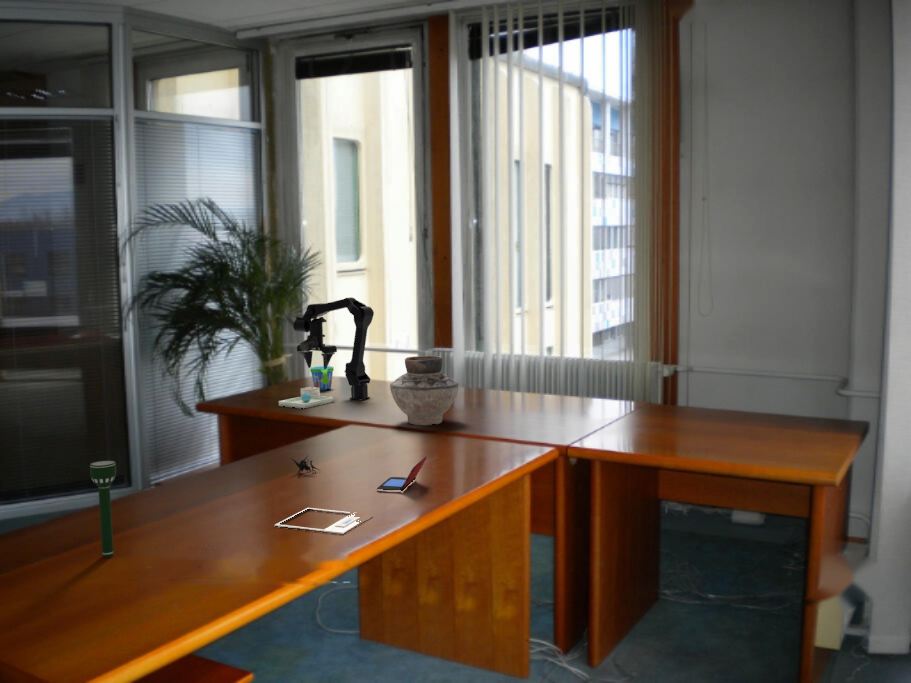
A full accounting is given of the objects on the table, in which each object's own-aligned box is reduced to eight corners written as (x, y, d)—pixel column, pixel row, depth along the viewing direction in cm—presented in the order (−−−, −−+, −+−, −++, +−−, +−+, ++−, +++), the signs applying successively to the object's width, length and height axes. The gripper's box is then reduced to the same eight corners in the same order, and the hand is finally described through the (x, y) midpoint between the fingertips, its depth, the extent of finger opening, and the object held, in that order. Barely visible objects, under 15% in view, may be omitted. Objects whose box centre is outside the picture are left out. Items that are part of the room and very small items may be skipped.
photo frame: (343, 531, 203) (274, 523, 210) (343, 536, 203) (274, 528, 210) (373, 513, 216) (307, 506, 223) (373, 518, 216) (307, 511, 223)
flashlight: (124, 551, 194) (119, 459, 192) (116, 560, 189) (110, 465, 187) (100, 552, 194) (94, 460, 191) (91, 560, 188) (85, 466, 186)
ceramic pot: (381, 427, 324) (380, 361, 321) (402, 415, 348) (400, 353, 345) (449, 430, 318) (448, 362, 316) (465, 417, 342) (465, 353, 340)
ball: (313, 401, 377) (312, 392, 376) (306, 403, 373) (306, 393, 373) (306, 401, 379) (305, 391, 378) (299, 402, 375) (298, 393, 375)
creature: (325, 477, 259) (308, 467, 264) (327, 460, 258) (310, 450, 263) (303, 482, 254) (286, 472, 259) (305, 465, 252) (288, 454, 257)
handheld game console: (390, 480, 251) (389, 454, 250) (428, 482, 248) (427, 455, 247) (375, 492, 239) (374, 465, 238) (414, 495, 236) (414, 466, 235)
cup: (323, 397, 394) (323, 387, 393) (310, 399, 387) (310, 390, 386) (309, 395, 398) (309, 386, 398) (297, 398, 391) (296, 388, 391)
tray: (334, 402, 380) (333, 397, 379) (304, 408, 365) (303, 403, 365) (309, 399, 387) (309, 394, 387) (278, 406, 373) (278, 401, 372)
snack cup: (309, 387, 421) (309, 365, 420) (332, 386, 424) (332, 364, 423) (312, 392, 406) (311, 370, 405) (335, 391, 409) (335, 369, 408)
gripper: (287, 333, 394) (288, 369, 395) (319, 335, 383) (320, 371, 385) (305, 331, 403) (306, 366, 404) (337, 332, 392) (338, 368, 394)
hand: (317, 368), depth 397 cm, fingers open, 9 cm apart
